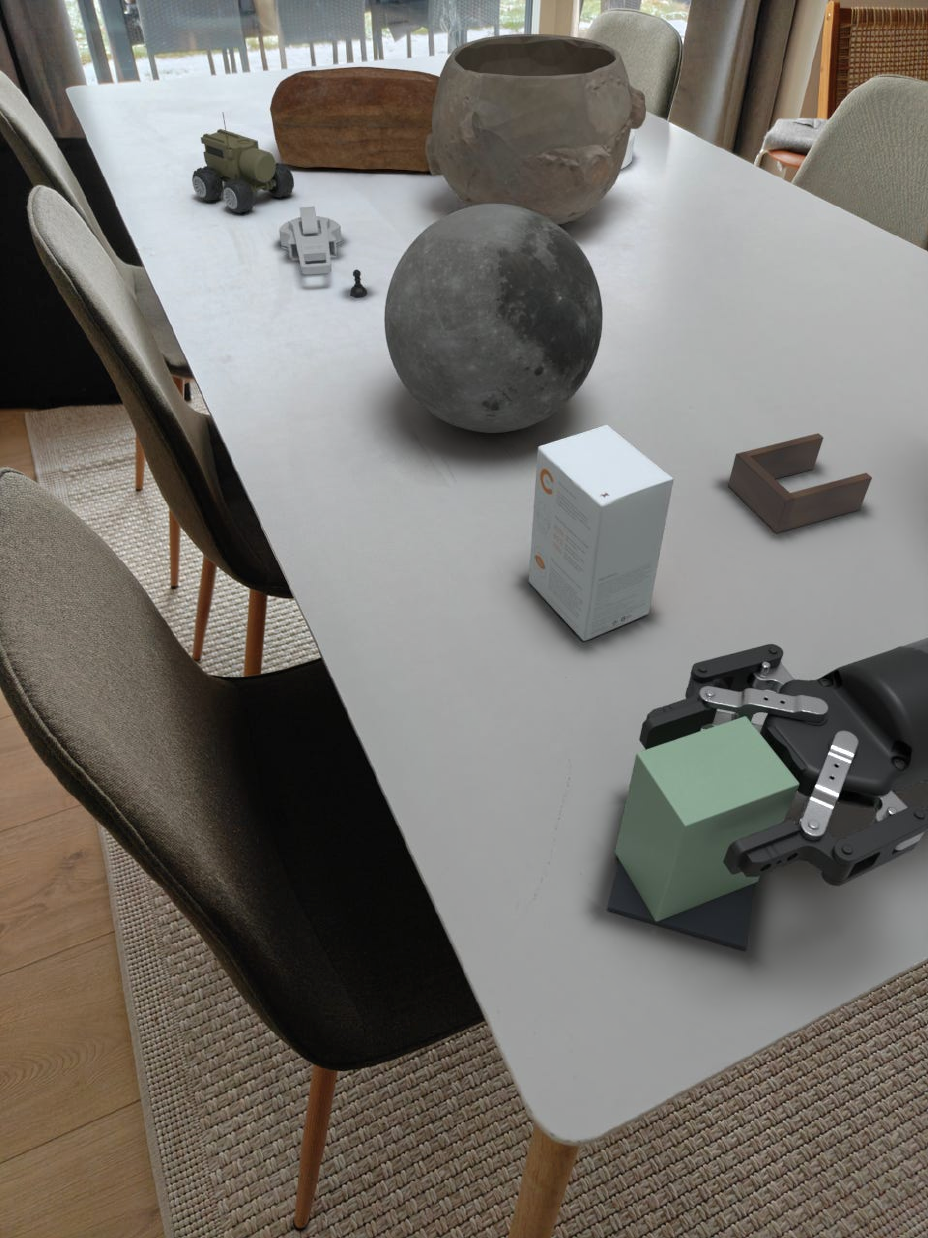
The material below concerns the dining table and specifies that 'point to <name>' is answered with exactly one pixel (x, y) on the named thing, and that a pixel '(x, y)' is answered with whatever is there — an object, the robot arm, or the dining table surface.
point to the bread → (354, 118)
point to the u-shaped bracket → (797, 508)
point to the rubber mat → (691, 912)
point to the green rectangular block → (699, 813)
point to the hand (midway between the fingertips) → (683, 794)
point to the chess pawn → (357, 286)
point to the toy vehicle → (239, 171)
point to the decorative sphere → (493, 318)
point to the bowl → (533, 122)
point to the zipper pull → (311, 240)
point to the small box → (597, 529)
